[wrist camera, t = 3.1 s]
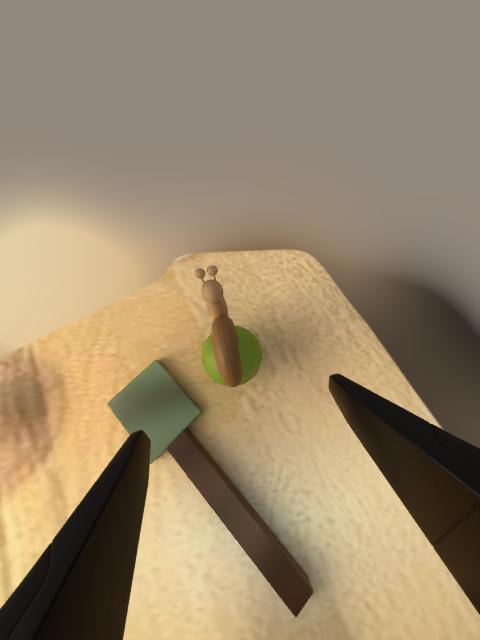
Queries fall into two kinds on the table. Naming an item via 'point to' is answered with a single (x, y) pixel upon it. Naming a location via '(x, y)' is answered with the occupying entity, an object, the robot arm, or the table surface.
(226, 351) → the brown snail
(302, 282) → the table surface
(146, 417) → the spatula
